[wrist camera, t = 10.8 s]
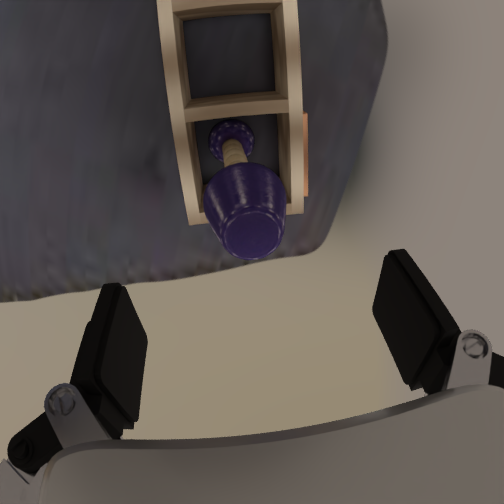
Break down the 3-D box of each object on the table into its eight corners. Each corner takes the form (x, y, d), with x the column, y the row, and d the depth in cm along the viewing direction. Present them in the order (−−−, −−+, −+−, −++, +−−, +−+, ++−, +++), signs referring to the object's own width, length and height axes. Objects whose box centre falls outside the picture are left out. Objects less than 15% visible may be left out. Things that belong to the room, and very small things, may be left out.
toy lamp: (249, 109, 27) (279, 174, 13) (268, 153, 29) (311, 256, 16) (200, 130, 27) (177, 217, 14) (221, 172, 30) (222, 289, 16)
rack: (164, -63, 16) (151, -87, 11) (279, -72, 16) (292, -97, 11) (194, 194, 31) (189, 225, 26) (294, 184, 31) (309, 212, 26)
